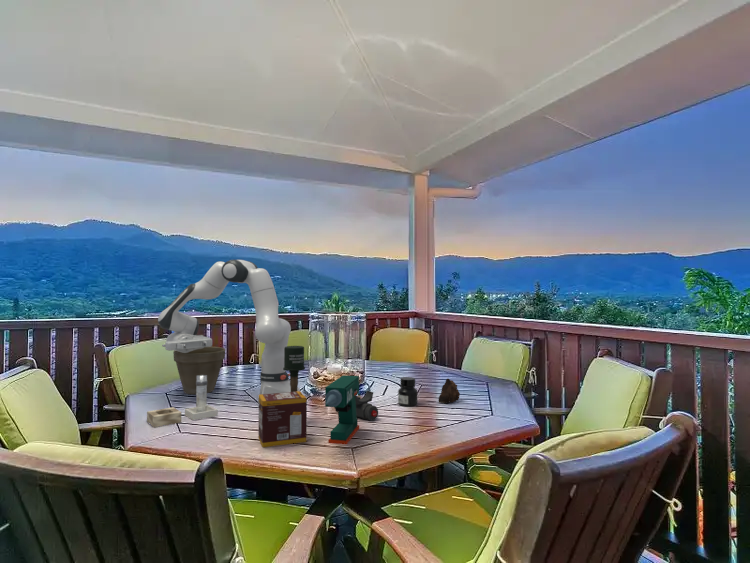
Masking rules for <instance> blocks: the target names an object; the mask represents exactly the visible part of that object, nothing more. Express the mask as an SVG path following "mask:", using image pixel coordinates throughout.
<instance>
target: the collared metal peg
mask: <svg viewBox="0 0 750 563" xmlns="http://www.w3.org/2000/svg"><path fill="white" fill-rule="evenodd" d="M196 386H197V387H196V396H195V397H196V402H195V407H196V413H199V412H204V411H206V406H207V405H208V404H207V401H208V399H207V394H208V393H207V375H198V376H197V381H196Z"/></svg>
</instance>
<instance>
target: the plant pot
mask: <svg viewBox="0 0 750 563" xmlns="http://www.w3.org/2000/svg"><path fill="white" fill-rule="evenodd" d="M225 358H226V348H225V347H222V346H221V347H219V346H211V347H204V348H202V349H197V350H193V351H190V352H187V353H182V352H178V351H175V350H173V361H174V362H175V363H176V368H177V372H178V376H179V379H180V383H181V387H182V390H183V392H184V394H186V395H196V387H197V386H196V381H197V376H198V375H207V394H209V393H213V392H214V391H215V388H216V385H217V382H218V379H219V375H220V371H221V369H222V368H221V367H222V365H223V360H224V359H225Z"/></svg>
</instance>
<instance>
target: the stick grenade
mask: <svg viewBox="0 0 750 563" xmlns="http://www.w3.org/2000/svg"><path fill="white" fill-rule="evenodd" d="M283 370H285V371H286V372H289V373H290V376H289V380H290V386H291V392H296V391H297V387H298V386H299V373H300V372H301V371H304V370H306V366H305V347H304V346H303V345H287V347H285V348H284V368H283ZM298 388H299V387H298Z"/></svg>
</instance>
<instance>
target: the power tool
mask: <svg viewBox="0 0 750 563" xmlns="http://www.w3.org/2000/svg"><path fill="white" fill-rule="evenodd" d="M324 388H325V389H324V390H325V391H324V392H325V396H324V402H325V404H324V406H325V407H326V408H327V407H328V408H334V407H336V409H335V412H337V415H338V416H337V417H338V422H337V424H336V426H334V427H333V428H332V430H331V431H330V438H329V439H328V441H327V443H328V444H333V445H334V444H335V445H346V444H347V445H348V444H349V442H350V441H351V440H352V438H353V437H354V435H356V433H357V432H358V431H359V429H360V425H359V424H358V421H359V420H358V417H356V400H355V396H358V395H359V394H360V375H348V374H347V375H345V374H343V375H341V376H340V377H337V379H336V380H334V381H333V382H331V383H330V384H328V385H326V386H325V387H324Z"/></svg>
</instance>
